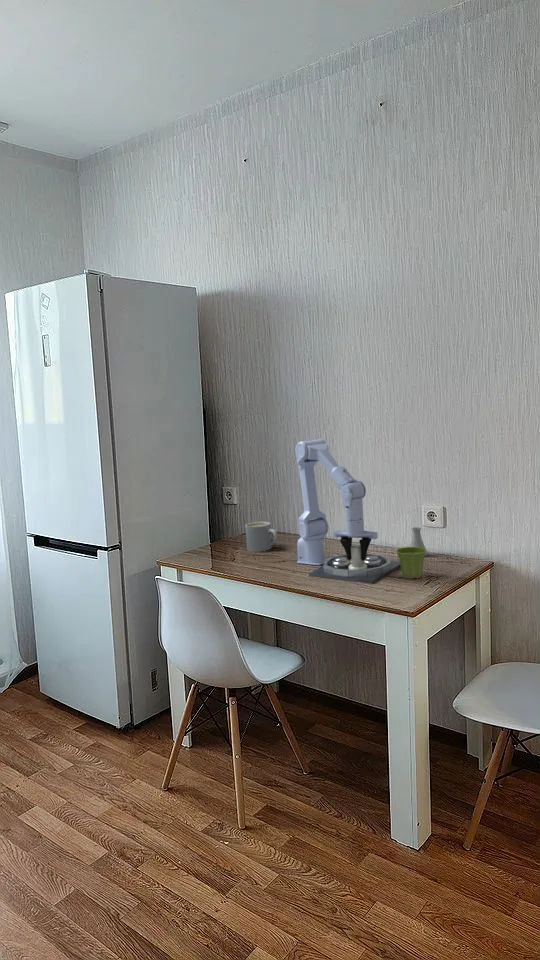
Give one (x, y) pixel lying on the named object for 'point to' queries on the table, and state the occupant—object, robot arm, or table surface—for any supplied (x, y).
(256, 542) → the coffee mug
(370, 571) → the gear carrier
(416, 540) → the flask
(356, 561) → the white mushroom peg
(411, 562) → the plant pot
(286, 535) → the table surface
